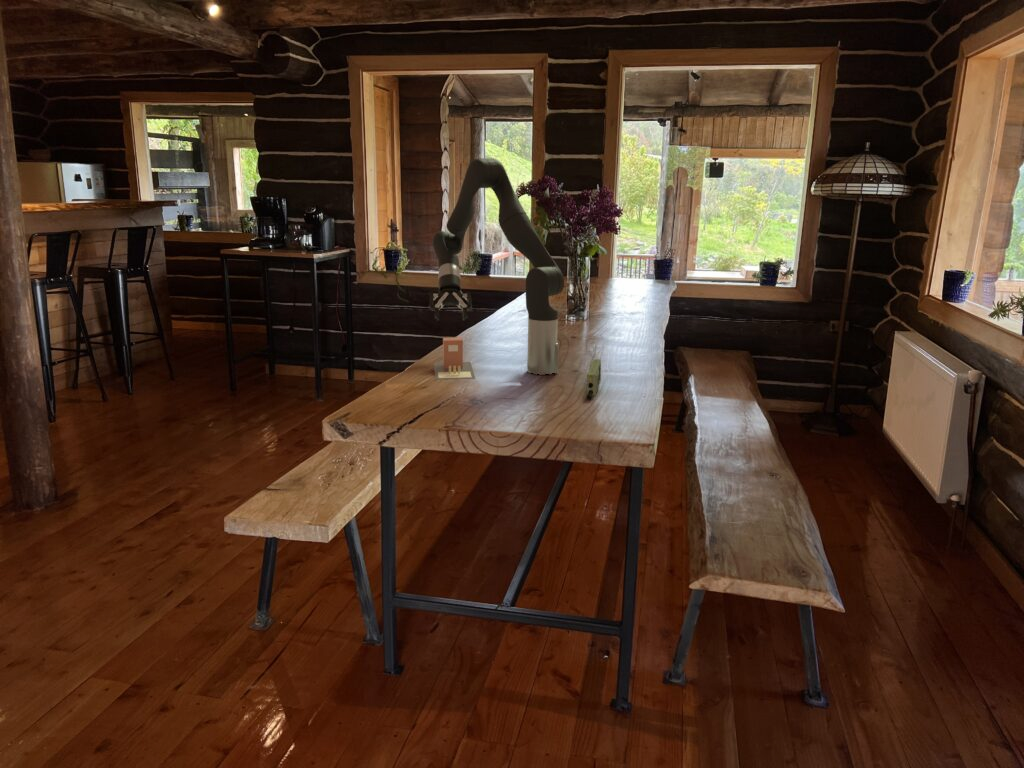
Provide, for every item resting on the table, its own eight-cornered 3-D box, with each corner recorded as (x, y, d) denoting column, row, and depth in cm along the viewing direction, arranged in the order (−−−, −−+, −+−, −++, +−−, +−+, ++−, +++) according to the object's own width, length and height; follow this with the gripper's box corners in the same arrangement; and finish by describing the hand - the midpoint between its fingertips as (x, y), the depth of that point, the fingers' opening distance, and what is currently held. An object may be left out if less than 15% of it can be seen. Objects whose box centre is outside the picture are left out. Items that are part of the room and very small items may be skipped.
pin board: (470, 364, 240) (470, 353, 239) (475, 381, 219) (475, 369, 218) (433, 365, 239) (433, 353, 238) (435, 382, 217) (435, 370, 216)
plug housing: (461, 364, 236) (461, 337, 234) (462, 368, 231) (462, 340, 229) (443, 365, 235) (443, 337, 233) (443, 368, 231) (443, 340, 228)
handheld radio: (602, 380, 224) (595, 402, 201) (591, 380, 225) (583, 401, 201) (602, 359, 223) (595, 378, 199) (591, 358, 223) (583, 378, 200)
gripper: (428, 273, 244) (429, 312, 236) (471, 273, 246) (473, 312, 238) (428, 286, 250) (429, 325, 242) (469, 286, 252) (472, 325, 244)
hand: (451, 319), depth 240 cm, fingers open, 8 cm apart
